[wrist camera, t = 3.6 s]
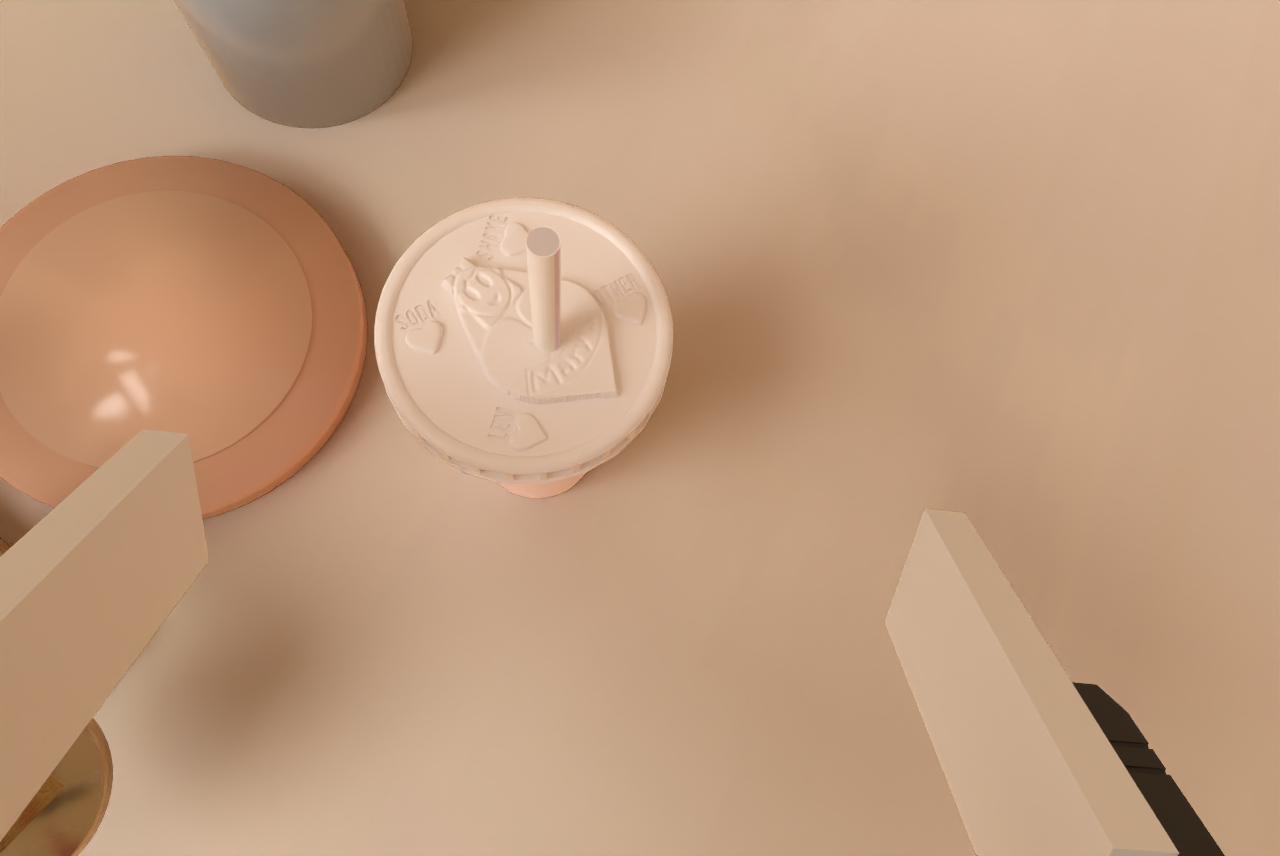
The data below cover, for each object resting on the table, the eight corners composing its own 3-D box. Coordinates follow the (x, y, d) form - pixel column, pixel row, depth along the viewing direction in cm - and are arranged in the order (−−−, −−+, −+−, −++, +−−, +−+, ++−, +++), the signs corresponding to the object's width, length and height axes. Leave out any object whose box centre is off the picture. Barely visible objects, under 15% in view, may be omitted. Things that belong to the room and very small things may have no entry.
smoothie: (553, 582, 25) (546, 501, 12) (395, 458, 26) (213, 243, 12) (674, 426, 27) (790, 200, 13) (523, 314, 27) (489, -14, 14)
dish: (-115, 356, 25) (-153, 339, 24) (187, 114, 28) (169, 87, 27) (161, 609, 24) (138, 606, 22) (444, 325, 27) (438, 308, 26)
